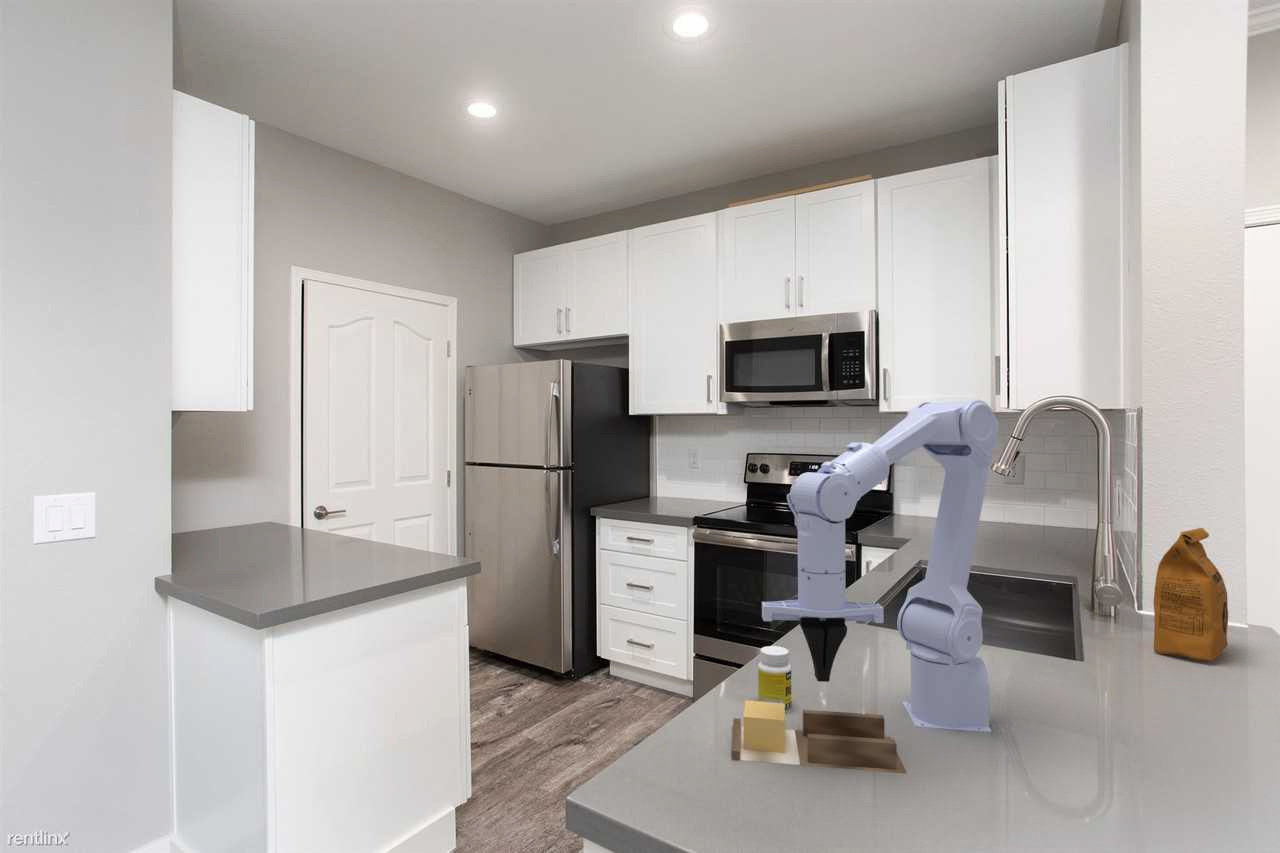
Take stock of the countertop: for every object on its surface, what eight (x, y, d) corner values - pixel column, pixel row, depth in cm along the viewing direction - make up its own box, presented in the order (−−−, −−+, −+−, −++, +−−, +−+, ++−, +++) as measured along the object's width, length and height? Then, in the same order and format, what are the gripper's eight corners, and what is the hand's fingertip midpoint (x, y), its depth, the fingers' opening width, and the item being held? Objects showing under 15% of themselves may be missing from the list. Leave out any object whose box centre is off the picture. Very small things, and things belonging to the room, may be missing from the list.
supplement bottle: (792, 717, 91) (791, 657, 91) (757, 714, 92) (757, 654, 92) (791, 703, 96) (790, 645, 96) (758, 700, 97) (758, 643, 97)
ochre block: (784, 734, 85) (784, 703, 85) (784, 753, 80) (784, 720, 80) (745, 730, 86) (745, 700, 86) (743, 748, 81) (743, 716, 81)
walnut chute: (890, 740, 84) (889, 713, 84) (906, 777, 76) (906, 747, 76) (733, 729, 88) (733, 703, 88) (731, 763, 79) (731, 734, 79)
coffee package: (1239, 654, 116) (1239, 530, 116) (1215, 669, 109) (1214, 537, 109) (1170, 639, 124) (1170, 523, 124) (1143, 652, 117) (1143, 529, 117)
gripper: (871, 563, 85) (872, 667, 85) (759, 562, 86) (759, 665, 86) (888, 575, 78) (889, 689, 78) (765, 574, 79) (766, 686, 79)
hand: (822, 678), depth 81 cm, fingers closed
